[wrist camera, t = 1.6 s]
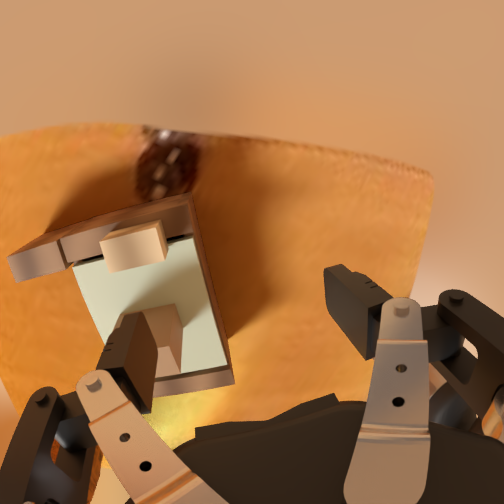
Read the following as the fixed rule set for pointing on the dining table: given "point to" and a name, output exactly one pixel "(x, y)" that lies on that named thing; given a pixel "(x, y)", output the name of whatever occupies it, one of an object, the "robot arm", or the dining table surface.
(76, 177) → the dining table surface
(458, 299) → the robot arm
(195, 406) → the dining table surface
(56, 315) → the dining table surface
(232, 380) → the wooden box frame
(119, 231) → the tan wooden block
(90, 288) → the lid
